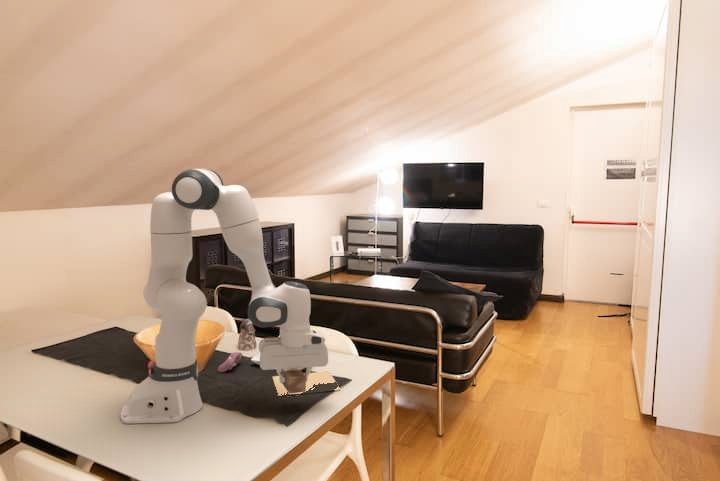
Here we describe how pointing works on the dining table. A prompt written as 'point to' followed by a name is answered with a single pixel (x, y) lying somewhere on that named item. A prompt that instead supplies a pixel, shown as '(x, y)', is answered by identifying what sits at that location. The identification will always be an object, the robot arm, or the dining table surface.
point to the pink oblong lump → (230, 362)
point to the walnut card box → (294, 380)
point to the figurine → (247, 336)
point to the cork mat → (307, 382)
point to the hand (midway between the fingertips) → (293, 381)
